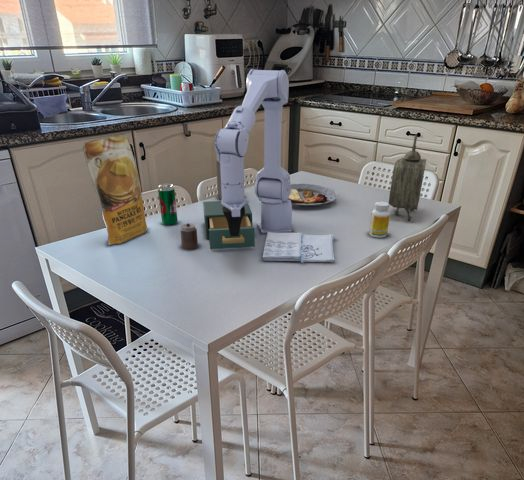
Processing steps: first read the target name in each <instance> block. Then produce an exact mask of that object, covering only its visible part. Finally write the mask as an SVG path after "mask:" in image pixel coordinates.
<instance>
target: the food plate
mask: <svg viewBox="0 0 524 480" xmlns="http://www.w3.org/2000/svg"><path fill="white" fill-rule="evenodd" d="M337 199H338V197H337V194H336V192H335V190H334V189H333V188H329V187H325V186H322V185H319V184H311V183H291V192H290V196H289V198H288V199H287V200H291V204H292V206H302V207H303V206H304V207H315V206H321V205H329V204H332V203H334V202H336V201H337Z"/></svg>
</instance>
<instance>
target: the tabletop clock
mask: <svg viewBox="0 0 524 480" xmlns="http://www.w3.org/2000/svg"><path fill="white" fill-rule="evenodd" d="M417 140H418V135H417V134H415V135H414V138H413V142H412V147H411V150H410V151H409V150H408V151H407V152H406V153H405V154H404V156H403V157H400V158H399V159H396V160H395V163H394V165H393V171H392V174H391V175H392V177H391V182H390V188H389V189H390V190H389V197H388V203H389V206H391V207H392V208H395V209H396V210H394V211H393V214H394V215H395V216H399V213H400V211H399V209H404V210H405V213H406V214H407V217H406V221H407V222H412V221H413V217H412V216H410V212H414V211H415V210H416V211H417V210H418V208H419V207H418V206H419V203H420V198H421V192H422V185H423V181H424V176H425V169H426V165H427V159H426V158H422V157H421V153H420V152H419V151H417V150H416V149H417Z"/></svg>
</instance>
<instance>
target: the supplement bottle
mask: <svg viewBox="0 0 524 480" xmlns="http://www.w3.org/2000/svg"><path fill="white" fill-rule="evenodd" d="M389 209H390V204H389V202H386V201H377V202H375V204H374V209H373V210H372V211H371V217H370V223H369V231H368V233H369V236H371V237H372V238H378V239H381V238H382V239H383V238H385V237H387V235H388V231H389V225H390V218H391V211H390V210H389Z"/></svg>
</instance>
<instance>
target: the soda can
mask: <svg viewBox="0 0 524 480" xmlns="http://www.w3.org/2000/svg"><path fill="white" fill-rule="evenodd" d="M157 193H158V194H157V195H158V200H159V209H160V217H161V218H160V219H161V222H162V224H163V225H165V226H174V225H176V224H177V223H178V222H179V220H178V219H179V218H178V211H177V210H178V209H177V202H176V192H175V187H174V185H173V184H172V183H161V184H159V185H158V188H157Z"/></svg>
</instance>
